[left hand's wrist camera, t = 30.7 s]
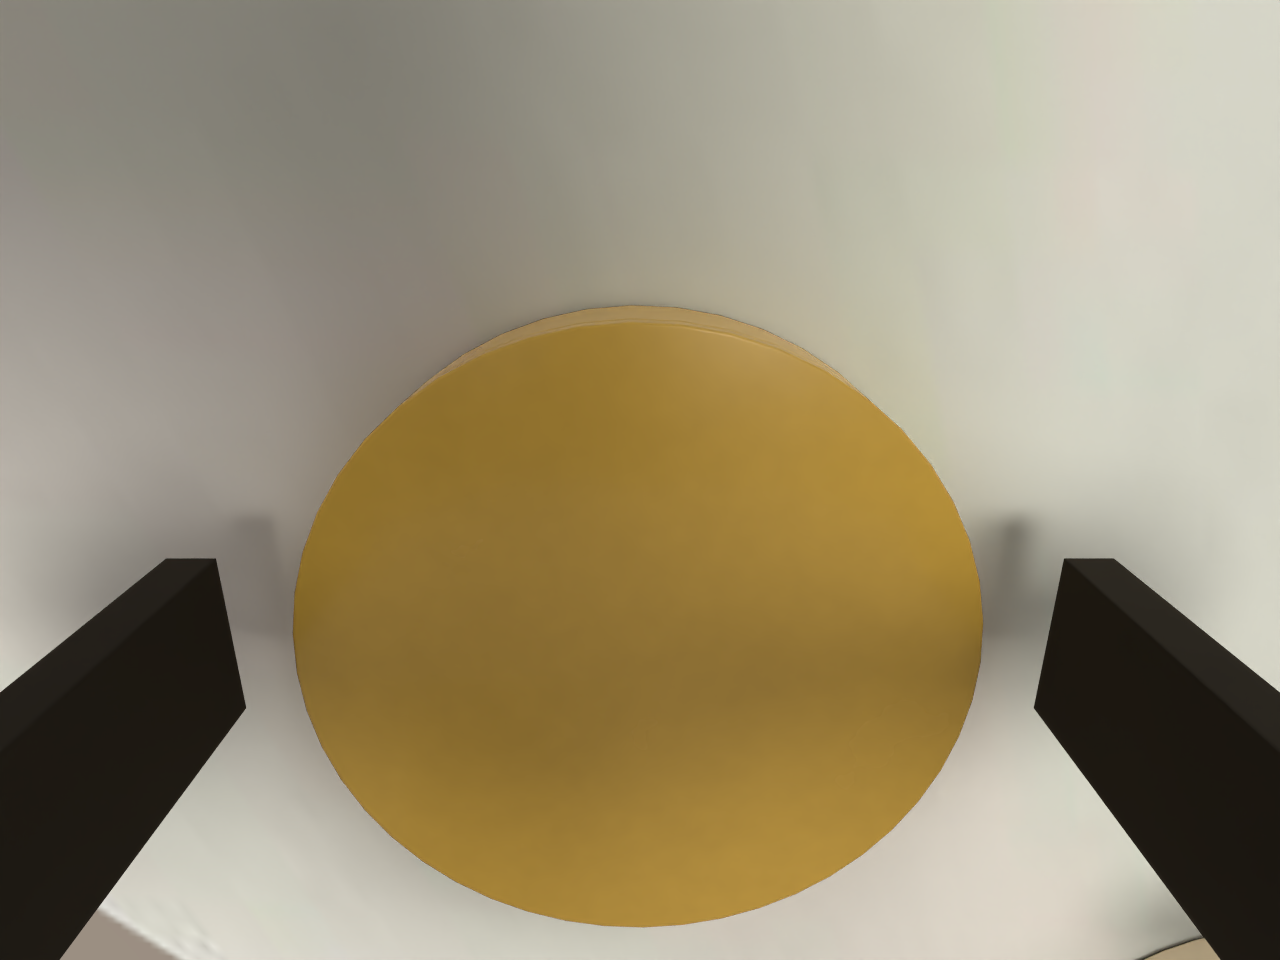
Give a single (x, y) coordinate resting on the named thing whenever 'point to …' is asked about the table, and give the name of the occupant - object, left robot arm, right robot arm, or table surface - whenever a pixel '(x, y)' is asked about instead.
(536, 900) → the lid
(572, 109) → the table surface
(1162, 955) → the jar
